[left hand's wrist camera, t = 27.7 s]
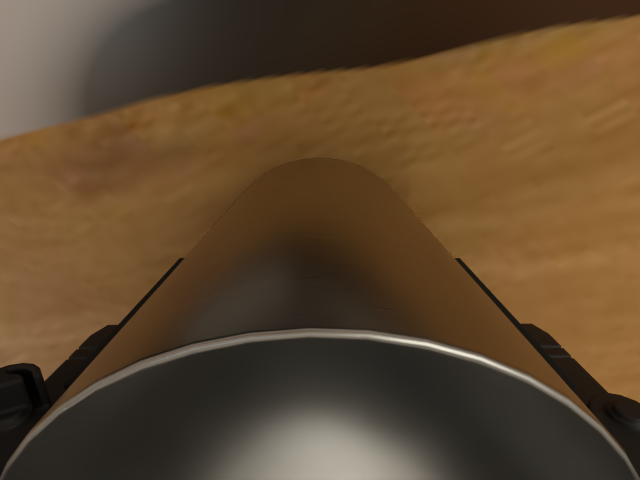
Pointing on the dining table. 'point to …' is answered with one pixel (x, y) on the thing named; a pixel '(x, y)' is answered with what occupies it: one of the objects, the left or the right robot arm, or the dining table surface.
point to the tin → (319, 360)
